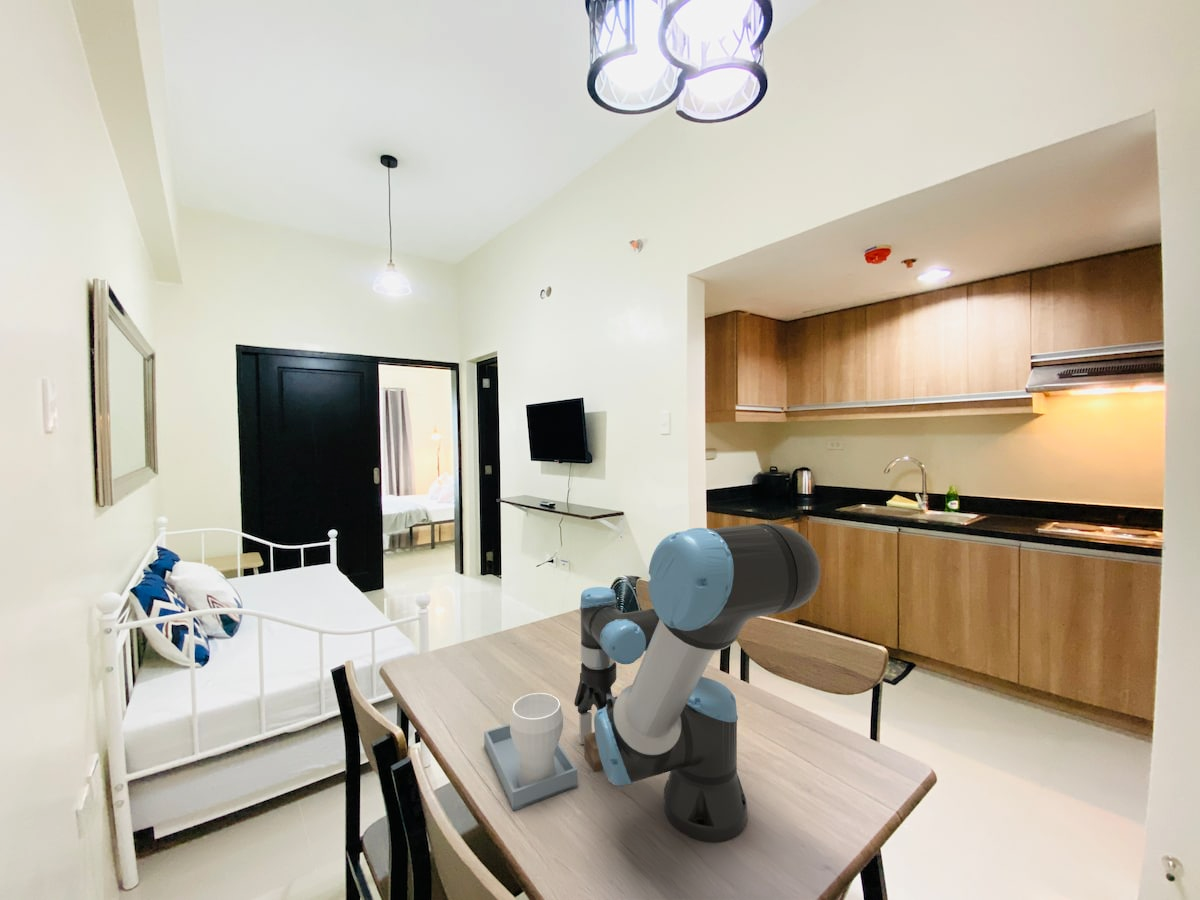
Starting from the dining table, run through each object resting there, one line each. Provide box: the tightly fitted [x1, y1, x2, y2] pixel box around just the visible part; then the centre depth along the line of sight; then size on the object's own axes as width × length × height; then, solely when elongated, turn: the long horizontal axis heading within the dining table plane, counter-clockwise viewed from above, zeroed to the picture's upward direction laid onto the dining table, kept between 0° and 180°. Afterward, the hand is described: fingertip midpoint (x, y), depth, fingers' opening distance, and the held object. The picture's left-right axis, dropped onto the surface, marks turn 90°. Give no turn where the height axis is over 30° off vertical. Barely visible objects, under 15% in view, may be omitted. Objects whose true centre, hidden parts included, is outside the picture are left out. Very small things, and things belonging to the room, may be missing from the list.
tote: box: [483, 723, 579, 812], centre depth 101 cm, size 21×13×4 cm, turn 28°
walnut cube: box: [583, 731, 604, 773], centre depth 103 cm, size 5×5×5 cm
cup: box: [509, 692, 564, 787], centre depth 96 cm, size 11×11×15 cm
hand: (599, 759), depth 103 cm, fingers open, 13 cm apart
